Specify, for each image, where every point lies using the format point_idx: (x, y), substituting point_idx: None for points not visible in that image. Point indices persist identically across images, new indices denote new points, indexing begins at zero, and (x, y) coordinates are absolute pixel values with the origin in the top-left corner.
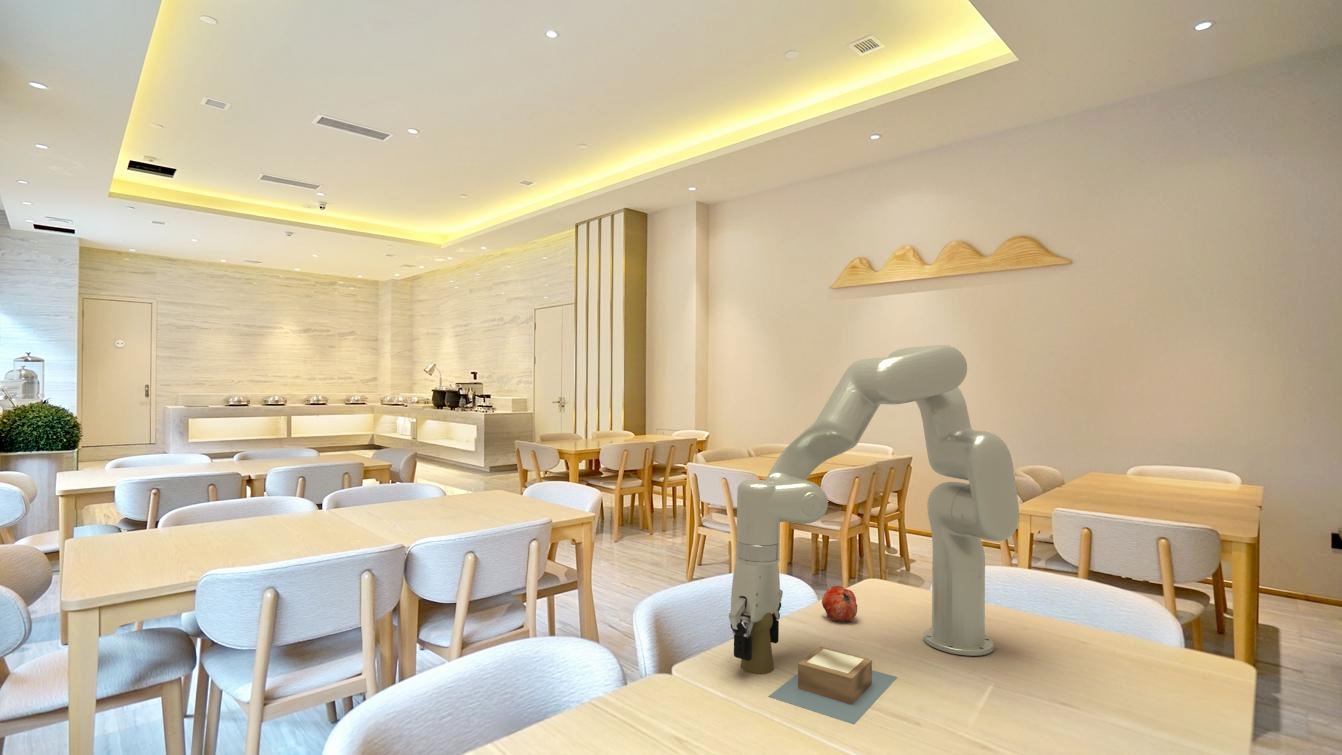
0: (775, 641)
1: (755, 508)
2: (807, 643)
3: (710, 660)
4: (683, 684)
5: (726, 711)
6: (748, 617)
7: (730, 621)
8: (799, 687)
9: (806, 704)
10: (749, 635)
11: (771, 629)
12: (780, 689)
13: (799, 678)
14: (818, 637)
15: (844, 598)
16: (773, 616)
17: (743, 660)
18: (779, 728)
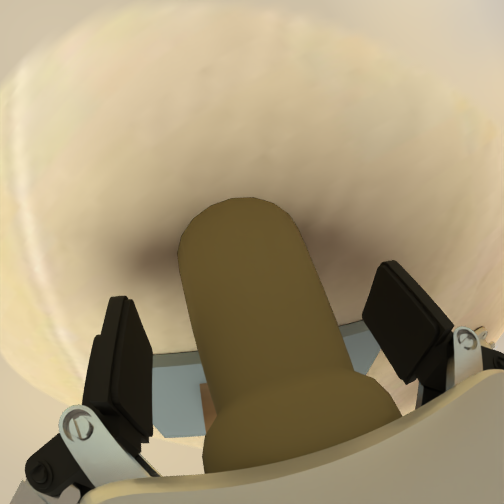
0: (365, 319)
1: None
2: (463, 242)
3: (223, 48)
4: None
5: (17, 319)
6: None
7: (17, 493)
8: (200, 388)
9: (154, 407)
10: (210, 391)
11: (393, 339)
12: (162, 371)
13: (202, 406)
14: (484, 242)
15: None
16: (426, 384)
17: (191, 267)
18: (75, 390)
